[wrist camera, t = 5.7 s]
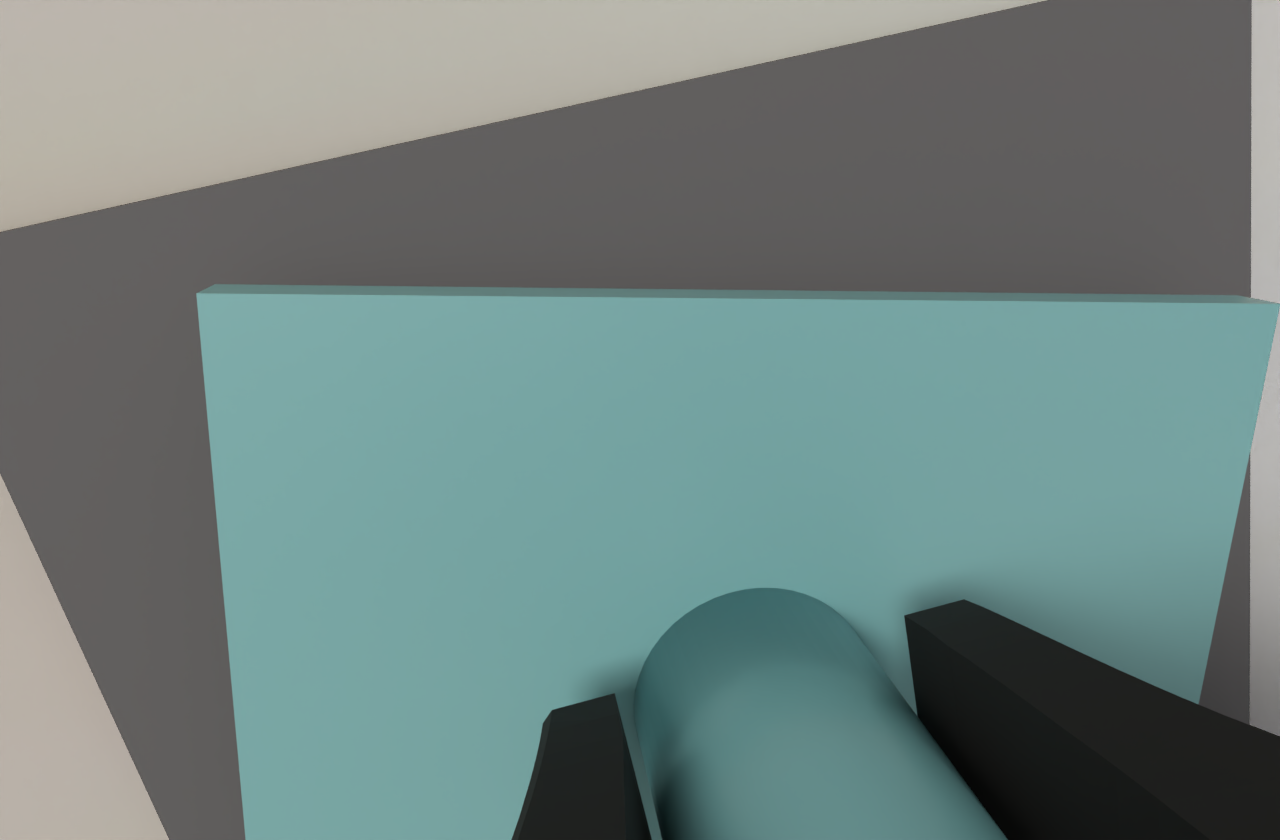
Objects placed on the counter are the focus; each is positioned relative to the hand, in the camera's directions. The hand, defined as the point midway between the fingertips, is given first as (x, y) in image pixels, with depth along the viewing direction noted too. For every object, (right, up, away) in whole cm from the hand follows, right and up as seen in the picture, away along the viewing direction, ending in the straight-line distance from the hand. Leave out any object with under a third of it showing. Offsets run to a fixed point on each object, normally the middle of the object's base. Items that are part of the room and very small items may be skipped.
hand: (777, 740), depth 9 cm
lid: (0, 0, +2) cm, 2 cm away
